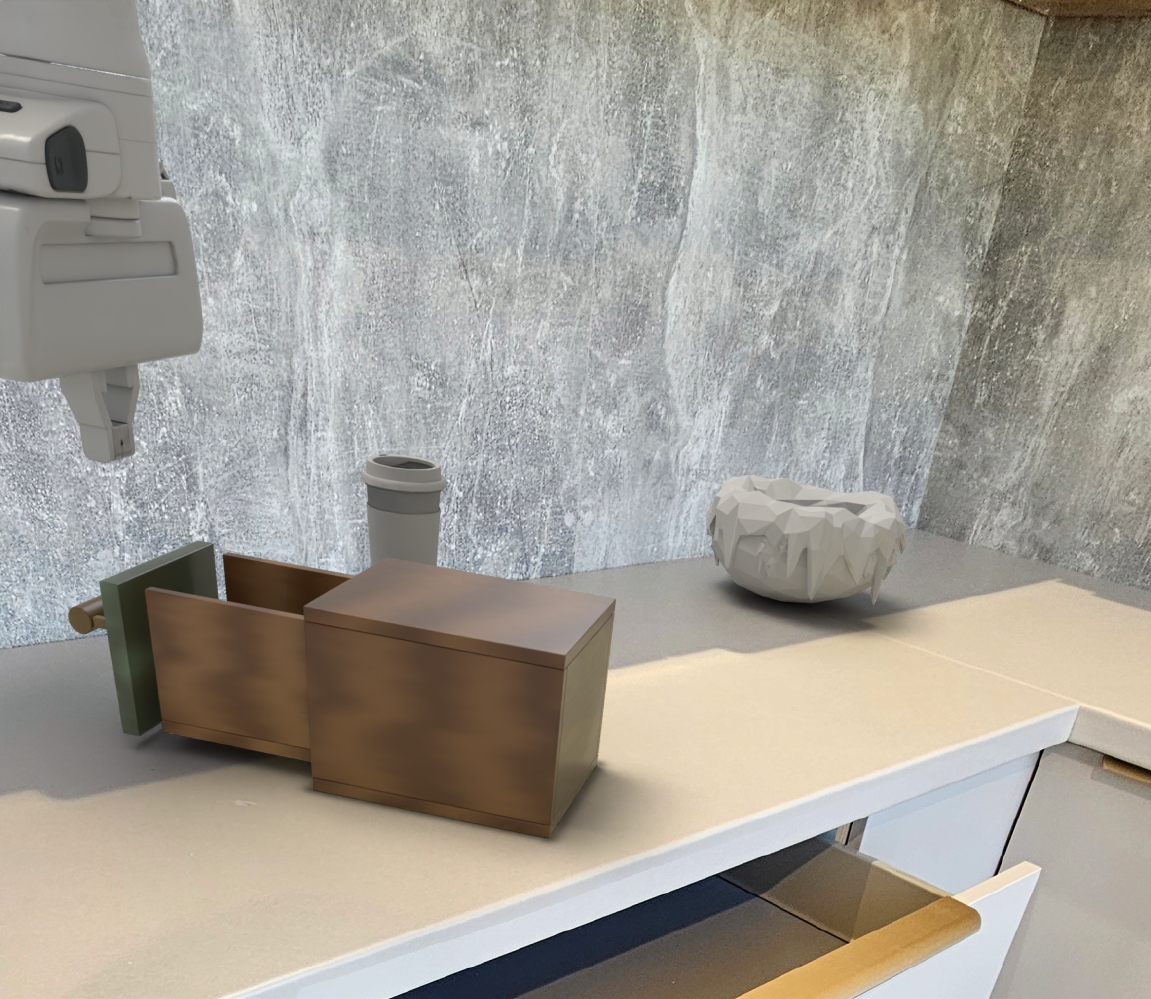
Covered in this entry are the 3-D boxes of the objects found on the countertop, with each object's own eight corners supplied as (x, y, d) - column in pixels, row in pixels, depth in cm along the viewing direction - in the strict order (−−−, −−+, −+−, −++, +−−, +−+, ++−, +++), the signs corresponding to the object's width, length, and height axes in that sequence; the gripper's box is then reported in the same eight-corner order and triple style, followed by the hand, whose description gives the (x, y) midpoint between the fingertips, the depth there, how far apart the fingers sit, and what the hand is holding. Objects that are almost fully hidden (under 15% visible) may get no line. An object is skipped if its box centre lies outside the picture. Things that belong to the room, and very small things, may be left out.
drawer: (61, 720, 75) (31, 568, 69) (156, 668, 84) (138, 529, 78) (334, 776, 73) (328, 624, 67) (401, 716, 82) (402, 577, 76)
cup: (410, 609, 104) (411, 451, 96) (459, 630, 101) (464, 468, 93) (346, 619, 100) (342, 454, 92) (396, 641, 97) (395, 472, 89)
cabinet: (312, 790, 73) (302, 605, 66) (387, 723, 83) (386, 556, 76) (548, 838, 72) (565, 654, 64) (597, 764, 81) (616, 598, 74)
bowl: (679, 605, 115) (697, 487, 108) (706, 562, 130) (724, 455, 123) (886, 642, 113) (917, 524, 106) (889, 593, 128) (917, 487, 121)
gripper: (118, 144, 68) (148, 426, 78) (-114, 122, 53) (-41, 475, 63) (217, 161, 68) (236, 443, 77) (11, 144, 53) (66, 496, 62)
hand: (110, 458), depth 70 cm, fingers closed
